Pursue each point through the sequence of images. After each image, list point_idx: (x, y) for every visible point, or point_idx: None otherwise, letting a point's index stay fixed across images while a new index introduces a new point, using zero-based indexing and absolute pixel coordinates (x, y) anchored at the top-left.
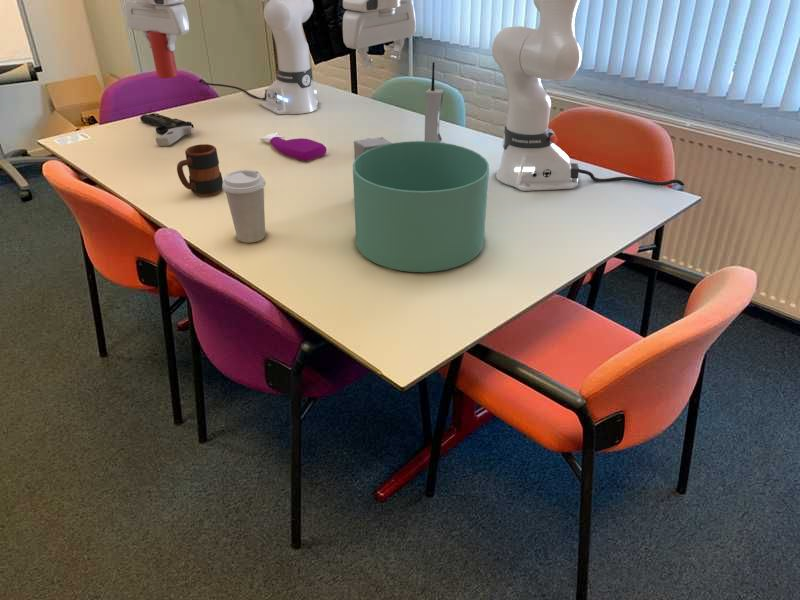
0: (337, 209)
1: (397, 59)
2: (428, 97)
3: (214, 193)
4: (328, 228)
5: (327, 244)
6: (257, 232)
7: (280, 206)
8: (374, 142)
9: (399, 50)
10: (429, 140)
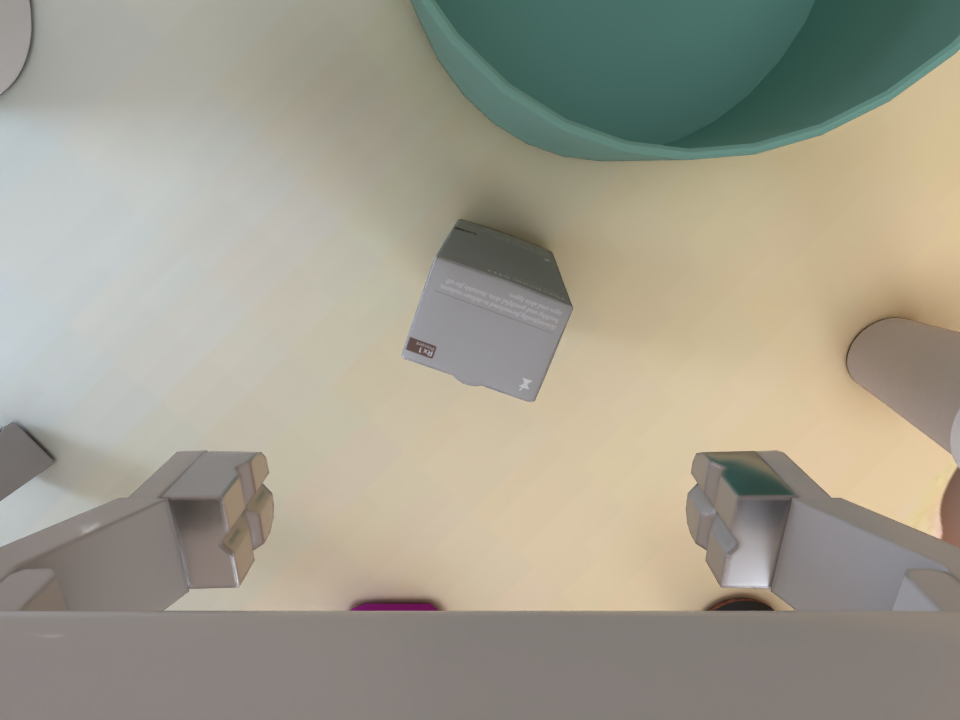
0: (608, 312)
1: (232, 452)
2: None
3: (748, 600)
4: (723, 236)
5: (808, 157)
6: (922, 323)
7: (692, 440)
8: (492, 320)
9: (141, 507)
10: (29, 458)
